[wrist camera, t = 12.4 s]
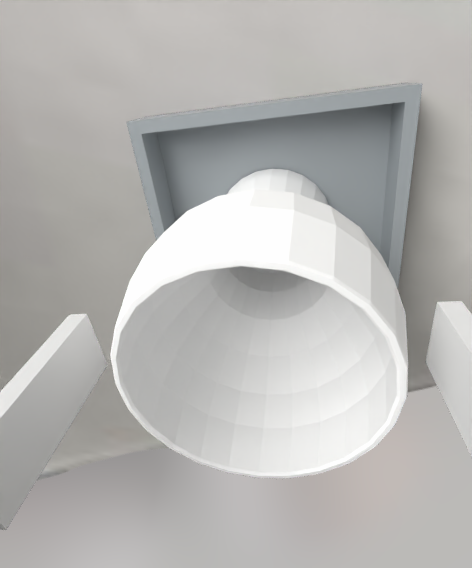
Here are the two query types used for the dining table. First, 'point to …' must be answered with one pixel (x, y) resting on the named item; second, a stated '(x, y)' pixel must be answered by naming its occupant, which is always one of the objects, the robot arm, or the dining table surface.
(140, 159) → the tray
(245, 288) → the cup
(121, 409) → the dining table surface
